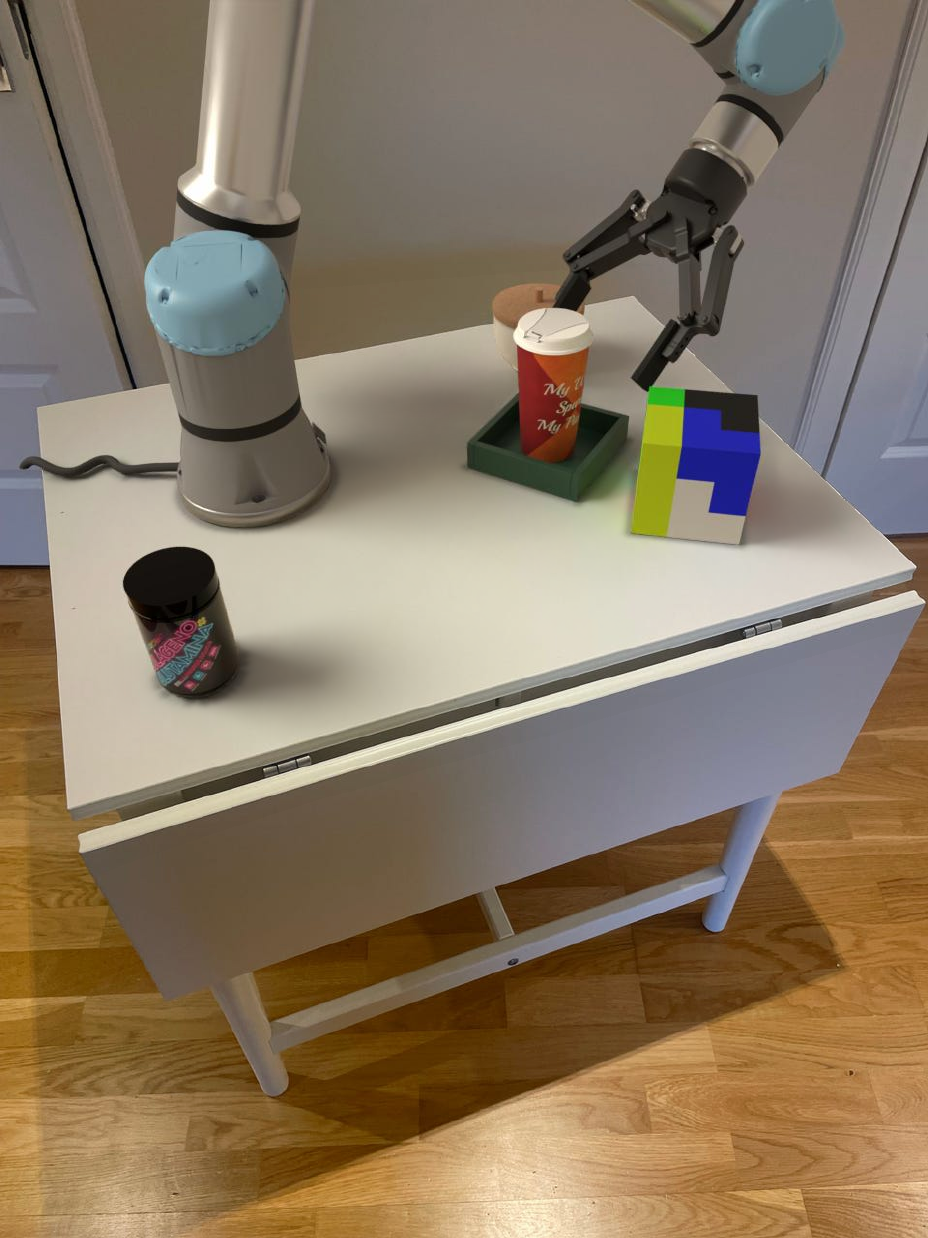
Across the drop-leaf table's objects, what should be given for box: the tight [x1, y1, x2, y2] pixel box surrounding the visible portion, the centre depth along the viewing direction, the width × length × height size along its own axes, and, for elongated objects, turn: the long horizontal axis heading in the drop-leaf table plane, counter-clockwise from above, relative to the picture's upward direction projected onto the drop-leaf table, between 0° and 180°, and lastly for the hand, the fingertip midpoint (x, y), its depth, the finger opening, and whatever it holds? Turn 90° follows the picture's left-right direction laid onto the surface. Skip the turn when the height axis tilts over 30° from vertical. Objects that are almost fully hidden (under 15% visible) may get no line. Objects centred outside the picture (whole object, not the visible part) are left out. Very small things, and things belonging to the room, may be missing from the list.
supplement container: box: [122, 546, 241, 698], centre depth 71 cm, size 7×7×10 cm
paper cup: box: [513, 308, 595, 463], centre depth 91 cm, size 8×8×14 cm
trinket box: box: [491, 282, 586, 372], centre depth 107 cm, size 11×11×9 cm
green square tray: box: [466, 391, 630, 503], centre depth 95 cm, size 13×13×3 cm
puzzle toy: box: [630, 385, 762, 546], centre depth 86 cm, size 10×10×10 cm
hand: (591, 359), depth 92 cm, fingers open, 13 cm apart
